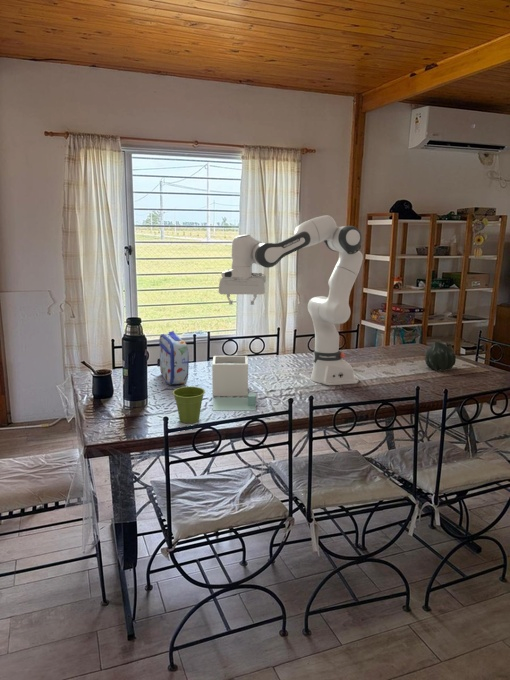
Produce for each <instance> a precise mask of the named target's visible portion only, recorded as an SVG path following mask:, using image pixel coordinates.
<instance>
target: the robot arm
mask: <svg viewBox="0 0 510 680" xmlns="http://www.w3.org/2000/svg"><path fill="white" fill-rule="evenodd" d="M362 237H363V236H362V232H361V231H360V229H359V228H357V227H356V226H353V225H343V226H338V224H337V222H336V221H335V219H334V218H333V216H331V215H326V214H325V215H320V216H317V217H312V218H311V219H309V220H306V221H304V222H301V223H300V224H298V225H297V226H296V227H295V228H294V232H293V235H292V236H289V237H288V238H286V239H283V240H280V241H279V242H275V243H274V242H262V241H260V240H258V239H256V238H254V237H253V236H251V234H241V235H237V236H235V237H233V240H232V242H231V243H232V244H231V259H232V263H231V268H230V269H226V270H224V271H222V272H221V278H220V279H219V285H218V294H219V295H226V298H227V300H228V305H229V306H230V305H233V304H234V303H233V299H231V298H230V297H231V295H253V299H251V300H250V305H251V306H252V305H255V300H256V299H257V297H258V296H257V295H264V294H265V292H266V289H265V287H266V286H265V283H266V280H267V279H266V275H265V274H264V273H262V272H253V264H254V265H255V264H256V265H259V266H261V267H263V268H268V269H269V268H273V267H275V266H276V265H277V264H279V263H280V261H282V259H283V258H285V257H287V256H289V255H291V254H292V253H295V252H296V251H299V250H301V249H304V248H309V247H312V246H315V245H317V244H320V243H322V242H323V243H324V244H325V246H326V247H327V248H328V250H329V251H333V252H338V259H337V261H336V264H335V265H334V268H333V270H332V272H331V275H330V277H329V279H328V280H327V281H328V283H327V284H328V287H329V292H328V295H327V296H324V295H320V296H319V295H318V296H314V297H312V298H310V299H309V300H308V303H307V311H308V313H309V315H310V317H311V320H312V324H313V328H314V349H313V354H312V355H313V359H312V360H313V366H312V372H311V375H310V380H311V381H312V382H314V383H319V384H323V385H326V386H337V385H353V384H358V383H359V377H358V376H357V375H356V374H355V371H354V368H353V367H352V365H351V364H350V363H349V362H347V361H346V360H345V359H344V358H345V357H346V354H345V353H344V352H343V351H341V350H339V347H340V346H339V345H340V334H339V332H338V330H337V328H336V325H342V324H345V323H346V322H348V321H349V319H350V317H351V314H352V313H351V307H350V304H349V303H350V302H349V301H350V295H351V291H352V289H353V286H354V284H355V282H356V279H357V278H358V275H359V272H360V270H361V267H362V265H363V264H362V263H363V259H364V255H363V253H362V252H361V251H360V250H361V249H362V248H361V247H362V245H361V244H362V239H363V238H362Z"/></svg>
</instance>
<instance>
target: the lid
mask: <svg viewBox="0 0 510 680" xmlns="http://www.w3.org/2000/svg"><path fill="white" fill-rule="evenodd" d="M213 397H214V399H213V406H212V411H213V412H224V411H225V412H249V411H250V412H254V411H255V412H256V411H257V408H256V407H257V406H256V403H257V402H256V399H257V398H256V397H257V395H256V392H252V391H248V396H213Z"/></svg>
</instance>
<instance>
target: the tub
mask: <svg viewBox="0 0 510 680" xmlns="http://www.w3.org/2000/svg"><path fill="white" fill-rule="evenodd" d="M248 361H249V360H248V355H213V358H212V365H211V368H212V371H211V372H212V373H211V375H212V377H211V378H212V397H248V392H249V388H248V387H249V362H248ZM226 362H235V363H238V364H222V363H226Z"/></svg>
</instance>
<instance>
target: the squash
mask: <svg viewBox="0 0 510 680" xmlns="http://www.w3.org/2000/svg"><path fill="white" fill-rule="evenodd" d="M424 358H425V359H424V360H425V364H426V366H427V367H428V368H429V369H431V370H434V371H437V372H439V371H441V372H445V371H447V370H451V369H452V368H453V367H454V366H455V365H456V359H457V357H456V354H455V352H454V350H453V349H452V348H451V347H449V346H448V345H447V344H445V343H442V342H440V341H435V342H434V343H433V344H432V345H431V346H430V347H429V349H427V351H426V353H425V356H424ZM438 370H439V371H438Z"/></svg>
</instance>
